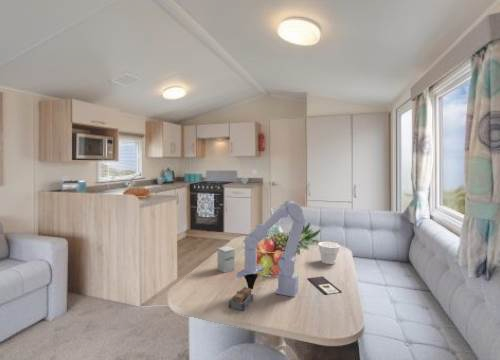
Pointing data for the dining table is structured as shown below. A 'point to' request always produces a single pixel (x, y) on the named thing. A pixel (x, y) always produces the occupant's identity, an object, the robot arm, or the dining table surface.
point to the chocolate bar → (324, 285)
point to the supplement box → (226, 259)
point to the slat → (242, 295)
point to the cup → (328, 252)
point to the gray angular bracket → (240, 305)
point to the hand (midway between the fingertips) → (250, 288)
